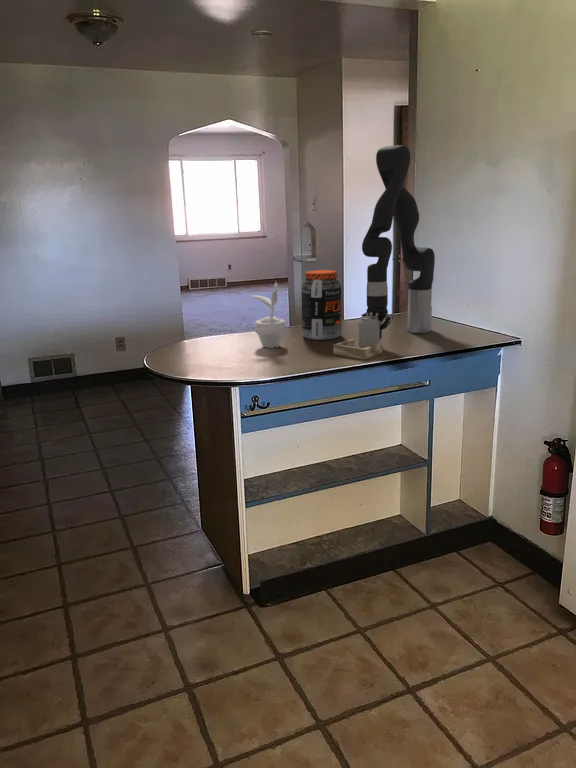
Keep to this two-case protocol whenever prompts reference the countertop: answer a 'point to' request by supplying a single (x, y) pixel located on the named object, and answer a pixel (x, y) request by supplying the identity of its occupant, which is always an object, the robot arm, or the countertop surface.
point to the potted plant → (270, 323)
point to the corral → (356, 350)
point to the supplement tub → (321, 305)
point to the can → (369, 331)
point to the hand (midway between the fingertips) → (377, 340)
